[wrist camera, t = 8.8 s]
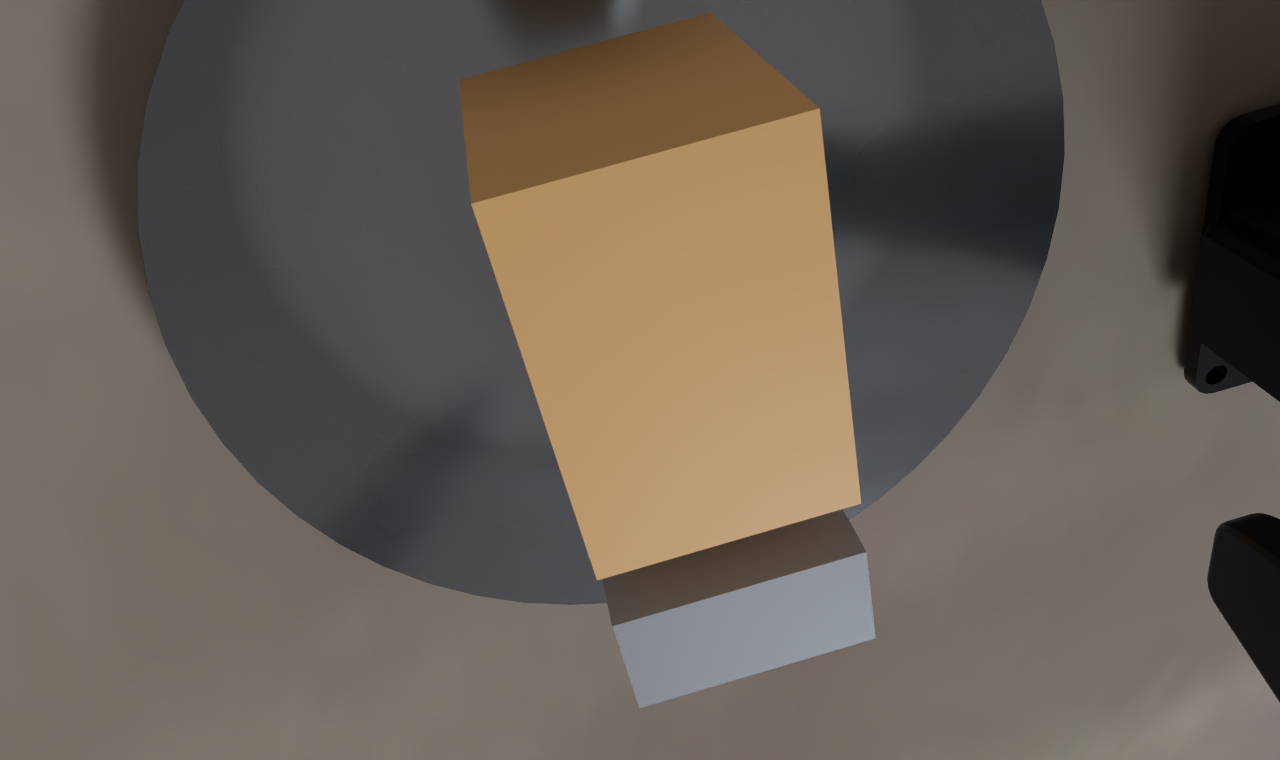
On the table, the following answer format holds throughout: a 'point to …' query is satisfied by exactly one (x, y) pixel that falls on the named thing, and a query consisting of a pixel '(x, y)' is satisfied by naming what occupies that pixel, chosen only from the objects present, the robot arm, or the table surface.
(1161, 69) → the table surface
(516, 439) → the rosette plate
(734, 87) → the tan and grey block
